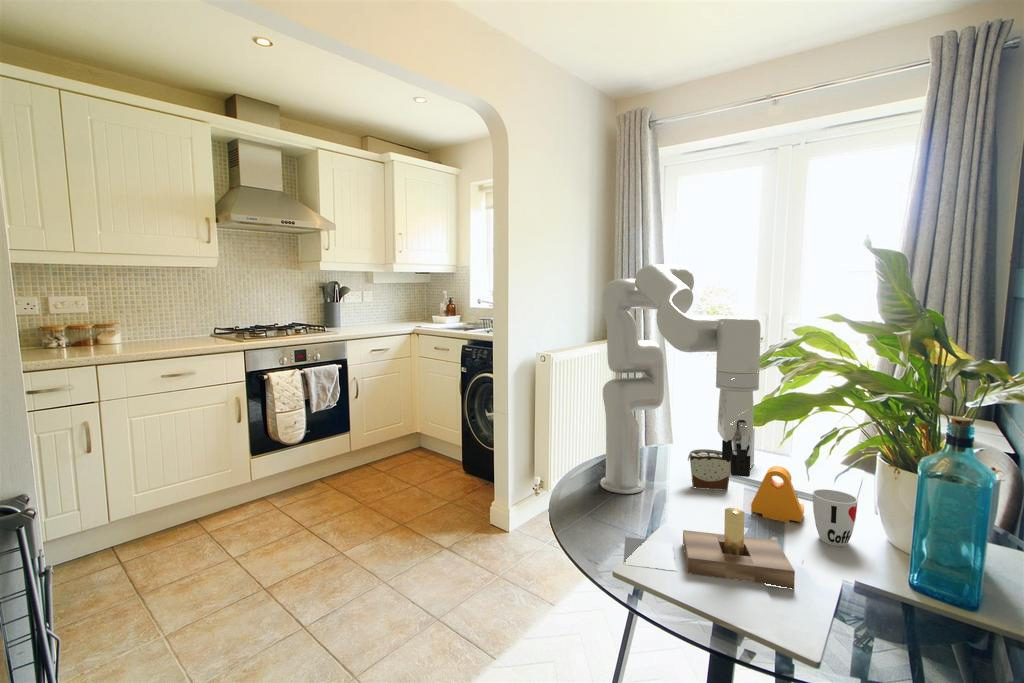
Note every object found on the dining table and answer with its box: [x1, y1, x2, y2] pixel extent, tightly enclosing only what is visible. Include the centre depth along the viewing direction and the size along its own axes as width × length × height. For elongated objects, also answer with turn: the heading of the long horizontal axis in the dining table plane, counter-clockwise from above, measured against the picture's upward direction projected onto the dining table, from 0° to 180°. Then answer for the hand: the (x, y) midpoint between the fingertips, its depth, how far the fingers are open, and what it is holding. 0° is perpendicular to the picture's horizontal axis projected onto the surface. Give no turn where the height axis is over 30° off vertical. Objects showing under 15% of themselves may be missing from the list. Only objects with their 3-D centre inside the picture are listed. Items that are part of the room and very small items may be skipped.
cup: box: [812, 488, 858, 547], centre depth 103 cm, size 8×8×10 cm
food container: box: [687, 448, 731, 491], centre depth 136 cm, size 12×6×10 cm, turn 80°
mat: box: [623, 536, 648, 563], centre depth 97 cm, size 12×10×1 cm
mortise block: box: [682, 529, 796, 590], centre depth 93 cm, size 12×18×4 cm, turn 74°
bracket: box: [750, 465, 805, 523], centre depth 116 cm, size 11×7×12 cm, turn 54°
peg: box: [723, 507, 745, 556], centre depth 92 cm, size 4×4×11 cm
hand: (735, 467), depth 92 cm, fingers open, 9 cm apart
